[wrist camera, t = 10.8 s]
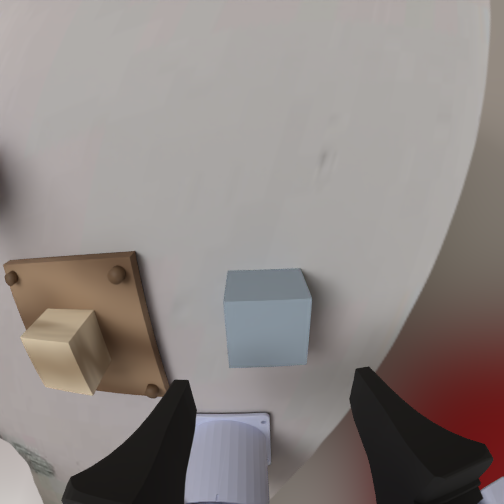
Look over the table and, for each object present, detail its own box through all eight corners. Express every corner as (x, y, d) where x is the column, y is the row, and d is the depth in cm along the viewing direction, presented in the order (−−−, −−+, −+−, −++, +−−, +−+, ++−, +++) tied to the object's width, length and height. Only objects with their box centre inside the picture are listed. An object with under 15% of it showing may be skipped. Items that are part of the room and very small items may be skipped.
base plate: (170, 388, 23) (166, 403, 21) (56, 376, 23) (49, 387, 21) (135, 251, 18) (125, 261, 17) (10, 260, 18) (-2, 268, 17)
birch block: (111, 360, 20) (93, 395, 17) (66, 355, 20) (45, 386, 17) (93, 309, 19) (68, 342, 15) (47, 308, 19) (20, 337, 15)
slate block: (297, 327, 21) (306, 364, 17) (232, 329, 21) (229, 367, 17) (299, 267, 19) (312, 298, 15) (228, 270, 19) (223, 301, 15)
